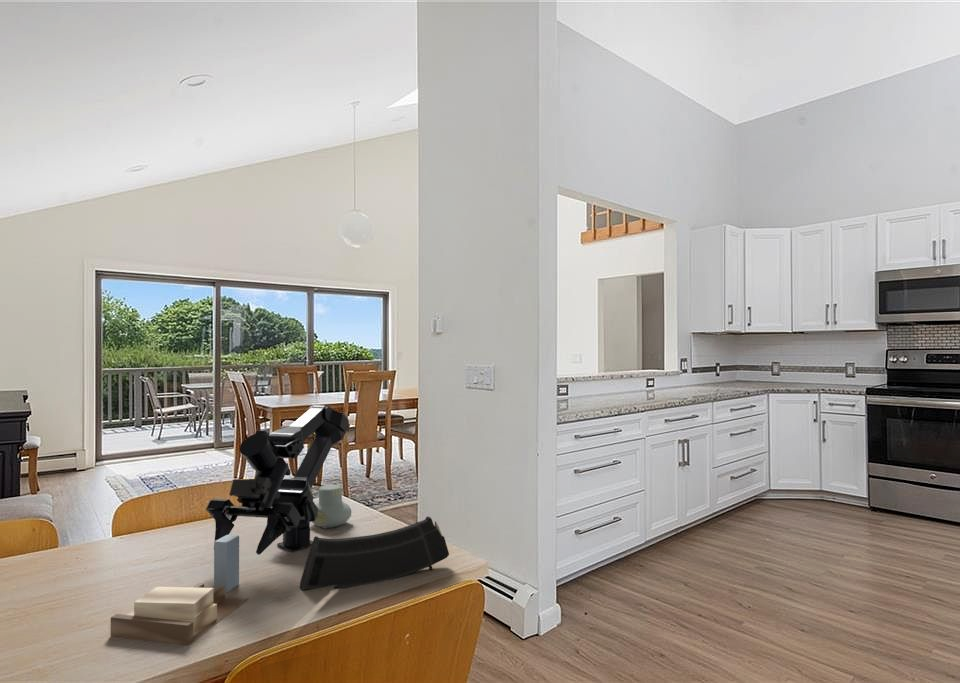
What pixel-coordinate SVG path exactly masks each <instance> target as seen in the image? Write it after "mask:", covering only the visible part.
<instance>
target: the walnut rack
mask: <svg viewBox="0 0 960 683" xmlns="http://www.w3.org/2000/svg"><path fill="white" fill-rule="evenodd" d="M193 587H195V588H205V583H201V582H199V583H197V584H195V585H194V586H193ZM249 600H250V598H247V597H246V598H245V597H235V596H226V593H225V585H219V586H218V587H216V588H215V589H214V588H213V604H217V619H216V620H214V621H213V622H212V623H210V624H209V625H208V626H206V627H205V628H204V629H202V630H201V631H199V632H198V633H197V634H195V635H194V636H193V622H190V621H181V620H171V619H161V618H152V617H142V616H132V615H127V614H121V613H116V614H114V615H113V616H112V615H111V617H110V637H113V638H122V639H131V640H139V641H140V640H141V641H150V642H155V643H156V642H157V643H167V644H175V645H183V646H188V645H191V643H193V642H194V641H196V640H197V639H198V638H200V637H201V636H202V635H203V634H205V633H206V632H208V631H209V630H210V629H212V628H213V627H215V625H217V624H218V623H220V622H221V621H222V620H223V619H225V618H226V617H228V616H229V615H230V614H232V613H233V612H234V611H236V610H237V609H238V608H240V607H241V606H242V605H244V604H245V603H246V602H247V601H249Z"/></svg>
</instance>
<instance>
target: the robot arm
mask: <svg viewBox="0 0 960 683" xmlns="http://www.w3.org/2000/svg"><path fill="white" fill-rule="evenodd" d="M349 428H350V421H349V418H348V417H347V416H346V415H345V414H344V413H342V412H340V411H338V410H335V409H332V407H331V406H328V405H327V404H326V405H325V404H323V405H322V404H320V405H319V404H313V405H311V406H309V407H308V409H307V411H306V412H304V413H303V414H302V415H301V416H300V417H299V418H297V419H296V420H295V421H294V422H293V423H291V424H290V425H289V426H287V427H284V428H279V429H276V430H274V431H272V432H271V433H269V434H268V432H267V430H266V429H265V430H261V429H260V430H259V429H257V430H256V431H255V433H254V434H251V435H249V436H247V437H246V438H245V439H244V440H243V441H242V442H241V443H240V445H239V452H240V454H241V455H242V456H243V458H244V459H245V460H246V462H247V463H248V465H249V466H250V467H251V469H253V470H254V471H256V474H255V476H254V478H250V479H242V478H240V479H237V478H236V479H235V478H233V480H232V483H231V486H230V491H229V494H228V496H230V497H232V496H233V497H237V499H236V500H237V502H238V503H239V504H241V506H240V505H239V506H238V505H234V503H233V502H232V501H231V499H229V498H212V499H210V500H209V502H208V503H207V506H206V508H205V511H206V512H207V513H208V514H209V516H211V518H213V519H214V522H215V530H214V532H215V534H214V541H216V540H218V539H220V538H222V537H224V536H226V535H230V533H231V532H232V530H233V529H234V527H235V524H234V522H235V521H236V520H237V518H238V517H246V518H247V517H249V518H263V519H264V518H265V519H266V520H267V521H266V526H265V528H264V530H263V533H262V535H261V537H260V539H259V542H258V544H257V547H256V551H255V553H256V555H258V556H260V555H261V554H262V553H263V552H264V551H265V550H267V548H268V547H269V546H271V545H272V544H273V542H275V541H276V540H277V539H278V538H280V537H281V536H282V541H281V542H278V543H276V546H277V547H278V548H281V549H283V550H284V549H285V550H286V551H290V552H297V551H298V550H303V549H305V548H308V547H311V545H312V543H313V540H311V526H310V525H311V523H312V521H315V520H316V518H317V515H318V508H317V506H316V503H315V502H314V495H313V491H312V488H313V486H314V484H315V482H316V479H317V478H318V475H319V474H320V473H321V472H320V471H321V469H322V467H323V466H324V463H325V461H326V460H327V457H328V455H329V453H330V451H331V449H332V447H333V445H335V444H337V443H339V442H341V440H343V438H344V437H345V436H346V434H347V432H348V430H349ZM313 433H315V437H314V439H313V441H312V442H311V444H310V446H309V448H308V449H307V452H306V453H305V455H304V457H303V459H302V461H301V463H300V464H299V467H298V469H297V471H296V473H295V474H294V476H293V477H292V479H291V478H285V476H291V469H290V466H289V463H288V462H287V461H286V460H285V459H297V458H298V456H300V454H301V453H302V451H303V450H304V448H305V444H304V442H305V441H306V440H307V439H308V438H309V437H310V436H311V435H312V434H313Z"/></svg>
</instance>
